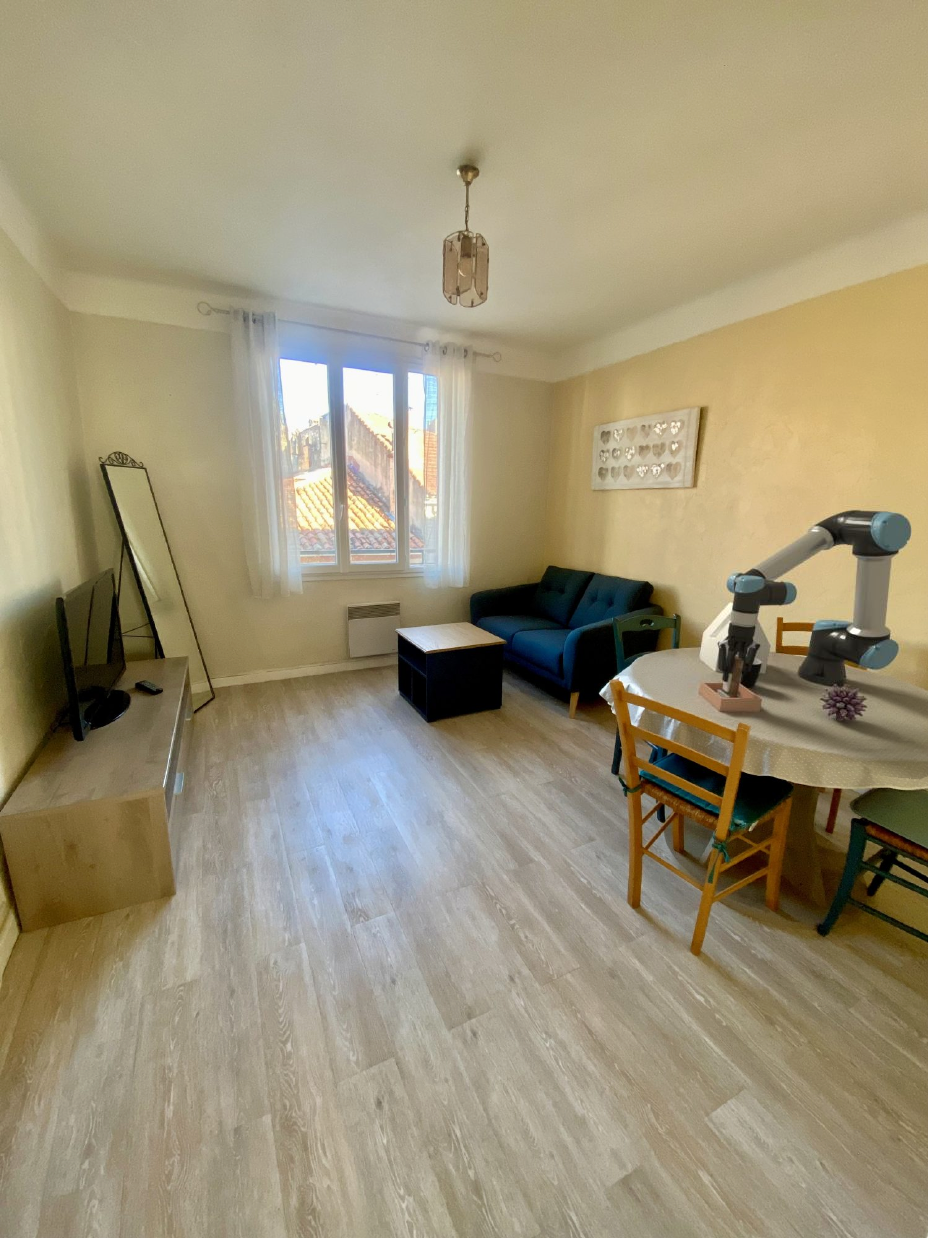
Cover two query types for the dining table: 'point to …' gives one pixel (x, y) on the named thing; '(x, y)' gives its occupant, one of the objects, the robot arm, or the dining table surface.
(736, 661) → the brown tall bar
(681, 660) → the dining table surface
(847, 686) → the purple spiky ball
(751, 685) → the mug
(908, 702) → the dining table surface
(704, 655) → the white house-shaped block
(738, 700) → the pink shallow tray
